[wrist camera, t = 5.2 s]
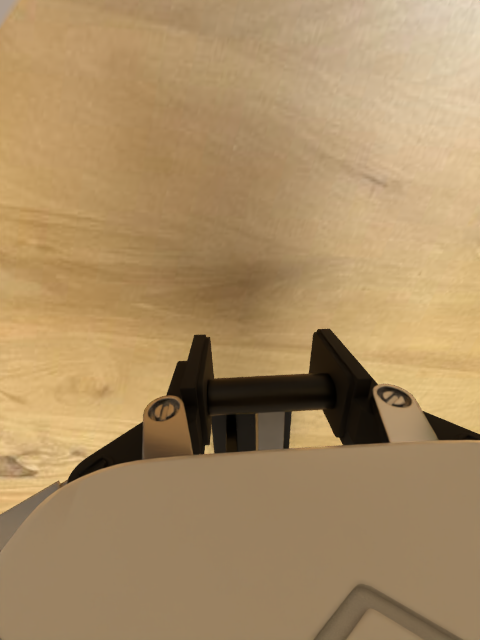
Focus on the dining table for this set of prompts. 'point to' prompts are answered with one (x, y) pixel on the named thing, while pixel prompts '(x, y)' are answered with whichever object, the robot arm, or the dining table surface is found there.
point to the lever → (270, 400)
